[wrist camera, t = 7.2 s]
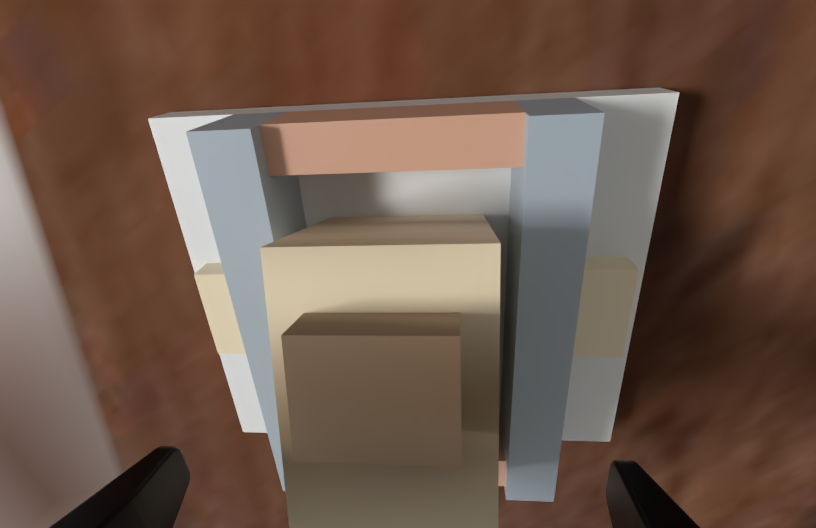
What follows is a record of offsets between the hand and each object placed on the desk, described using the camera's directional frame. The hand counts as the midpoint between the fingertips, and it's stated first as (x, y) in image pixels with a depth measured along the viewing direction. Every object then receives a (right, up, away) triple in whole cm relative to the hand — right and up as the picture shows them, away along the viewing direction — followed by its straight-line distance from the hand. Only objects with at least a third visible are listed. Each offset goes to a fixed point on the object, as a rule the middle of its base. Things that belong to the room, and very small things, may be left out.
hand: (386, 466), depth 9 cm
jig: (+1, +3, +6) cm, 7 cm away
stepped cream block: (+1, +2, +5) cm, 5 cm away
